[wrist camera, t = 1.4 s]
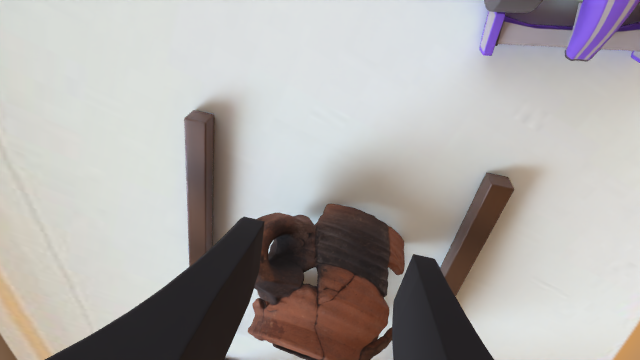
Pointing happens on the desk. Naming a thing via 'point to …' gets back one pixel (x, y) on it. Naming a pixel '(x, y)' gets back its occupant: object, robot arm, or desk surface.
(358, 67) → the desk surface
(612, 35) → the toy race car
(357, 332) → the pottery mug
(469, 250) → the walnut slot
